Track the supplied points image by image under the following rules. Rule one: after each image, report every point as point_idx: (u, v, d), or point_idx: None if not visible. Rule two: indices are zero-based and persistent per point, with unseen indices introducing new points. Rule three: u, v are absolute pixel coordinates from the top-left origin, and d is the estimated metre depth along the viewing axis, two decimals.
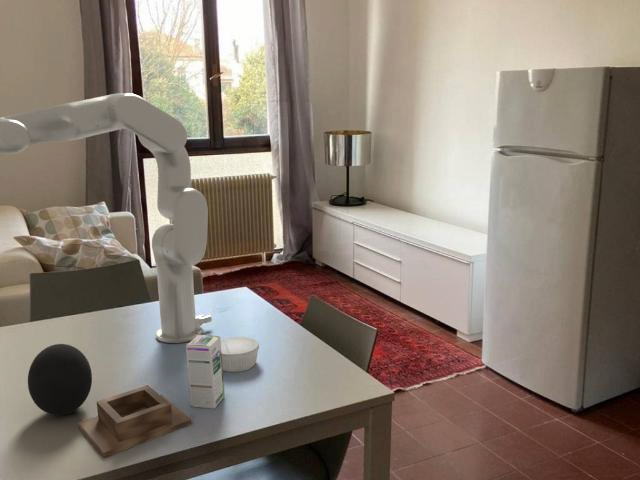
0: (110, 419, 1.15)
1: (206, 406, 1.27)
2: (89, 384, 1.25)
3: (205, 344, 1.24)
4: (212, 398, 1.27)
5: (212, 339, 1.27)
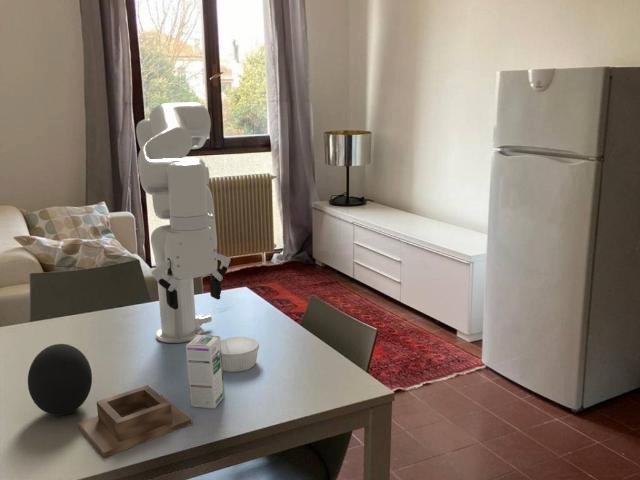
0: (110, 419, 1.15)
1: (206, 406, 1.27)
2: (89, 384, 1.25)
3: (205, 344, 1.24)
4: (211, 398, 1.27)
5: (212, 339, 1.27)
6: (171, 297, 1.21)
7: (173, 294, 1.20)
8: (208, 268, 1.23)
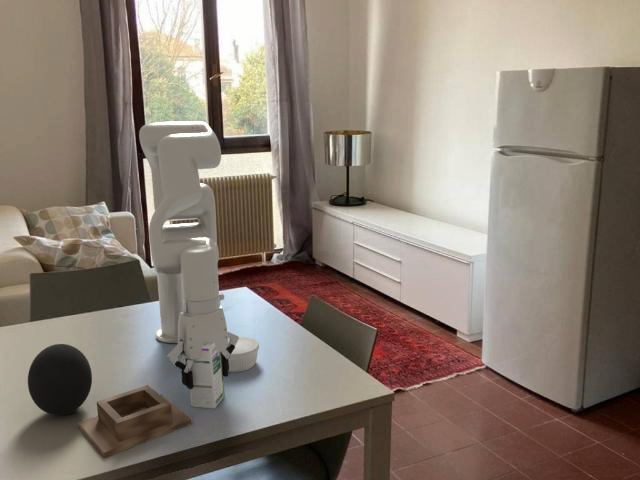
0: (110, 419, 1.15)
1: (206, 406, 1.27)
2: (89, 384, 1.25)
3: (205, 344, 1.24)
4: (212, 398, 1.27)
5: None
6: (186, 377, 1.25)
7: (189, 375, 1.25)
8: (219, 346, 1.27)
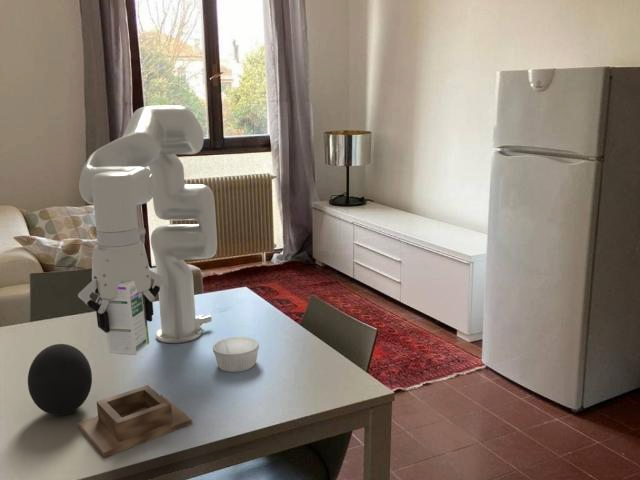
0: (110, 419, 1.15)
1: (125, 352, 1.15)
2: (89, 384, 1.25)
3: (122, 282, 1.11)
4: (131, 343, 1.14)
5: None
6: (102, 319, 1.12)
7: (104, 316, 1.12)
8: (140, 286, 1.14)
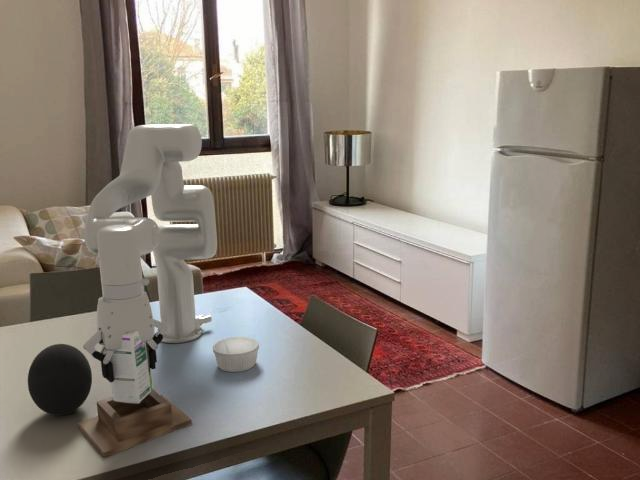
0: (110, 419, 1.15)
1: (129, 401, 1.17)
2: (89, 384, 1.25)
3: (126, 333, 1.14)
4: (135, 392, 1.16)
5: None
6: (106, 369, 1.14)
7: (109, 367, 1.14)
8: (144, 335, 1.17)
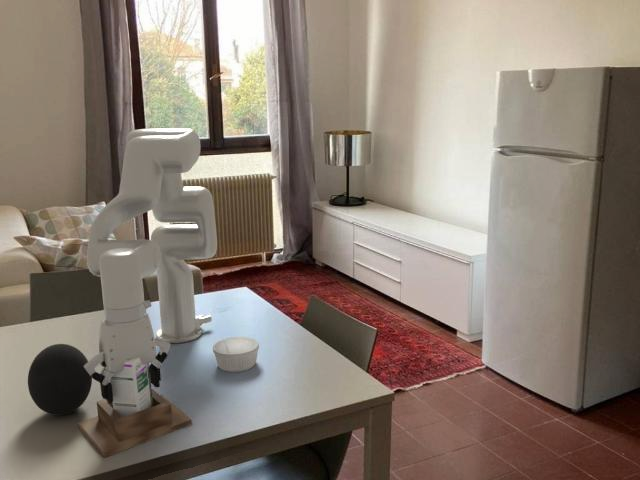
0: (110, 419, 1.15)
1: None
2: (89, 384, 1.25)
3: (128, 360, 1.15)
4: None
5: None
6: (105, 390, 1.15)
7: (108, 388, 1.14)
8: (146, 357, 1.18)
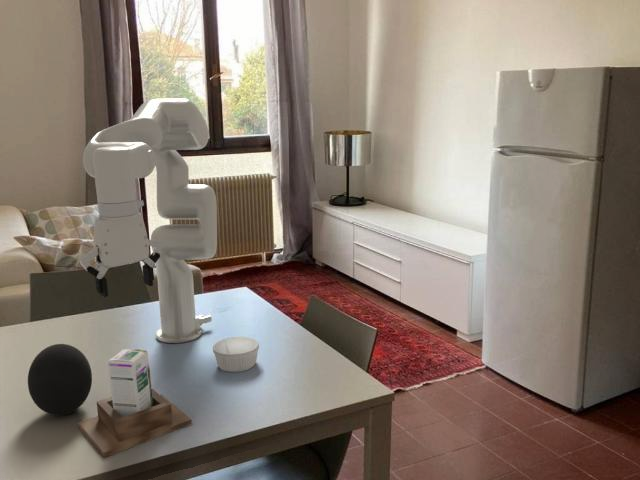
0: (110, 419, 1.15)
1: None
2: (89, 384, 1.25)
3: (128, 360, 1.15)
4: None
5: (138, 354, 1.18)
6: (100, 285, 1.19)
7: (103, 281, 1.18)
8: (139, 255, 1.22)
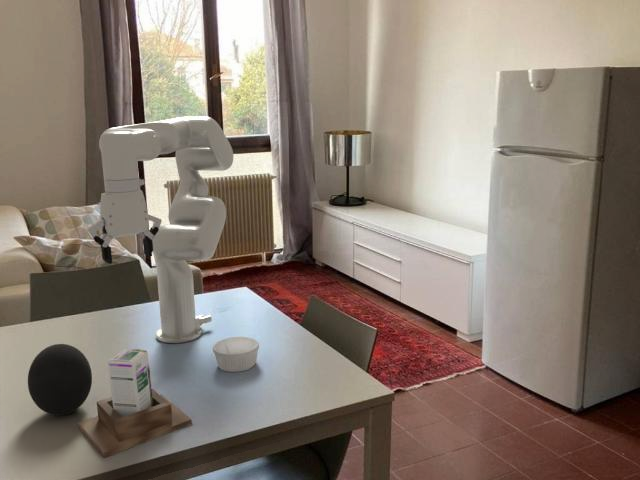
0: (110, 419, 1.15)
1: None
2: (89, 384, 1.25)
3: (128, 360, 1.15)
4: None
5: (138, 354, 1.18)
6: (105, 253, 1.35)
7: (107, 250, 1.34)
8: (140, 227, 1.38)
